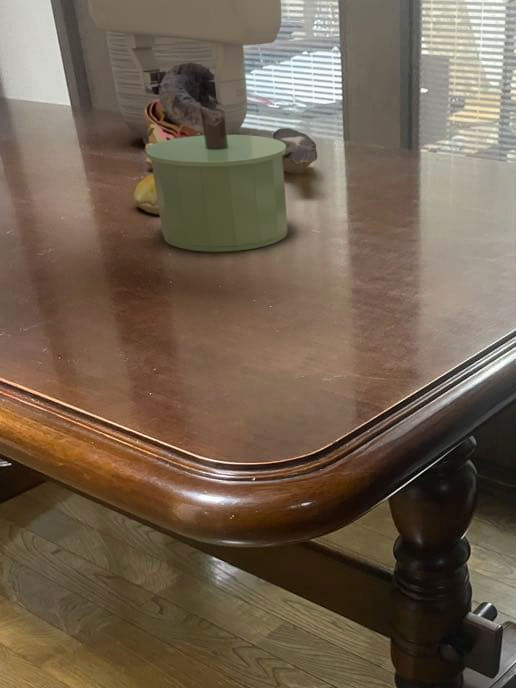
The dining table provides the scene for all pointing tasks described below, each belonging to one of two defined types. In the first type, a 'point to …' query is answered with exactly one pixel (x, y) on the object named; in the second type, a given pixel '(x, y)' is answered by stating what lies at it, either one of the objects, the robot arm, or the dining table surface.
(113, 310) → the dining table surface
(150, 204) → the bread roll
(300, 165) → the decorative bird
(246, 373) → the dining table surface
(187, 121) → the seashell
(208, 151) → the pot lid
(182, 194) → the pot
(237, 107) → the vase
